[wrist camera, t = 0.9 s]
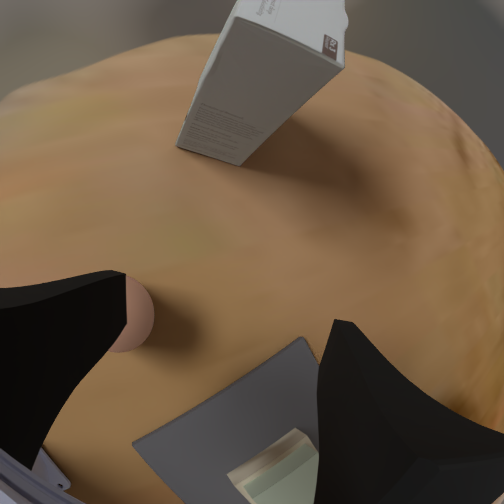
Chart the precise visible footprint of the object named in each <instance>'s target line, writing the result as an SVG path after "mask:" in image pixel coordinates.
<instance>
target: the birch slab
mask: <svg viewBox="0 0 504 504" xmlns="http://www.w3.org/2000/svg"><path fill="white" fill-rule="evenodd" d="M304 443H305V444H307V445H308V446H309V447H311V448H312V449H314V450H315V451H317V450H316V448H315V447H314V445H313V444H312V442H311V441H310V439H309V438H308V436H307V435H306V434H304V433H303V432H301V431H300V430H298V429H297V428H294V429H293V430H291V431H290V432H289V433H287V434H286V435H284V436H283V437H282V438H280V439H279V440H278V441H276V442H275V443H273V444H272V445H270V446H269V447H268V448H266V449H265V450H263V451H262V452H260V453H259V454H257V455H256V456H254V457H253V458H251V459H250V460H248V461H247V462H245V463H244V464H242V465H241V466H239V467H237V468H236V469H234V470H233V471H231V472H229V473H228V474H227V476H228V477H229V479H230V480H231V482H232V483H233V485H234V486H235V487H236V488H237V489H238V491H239V492H240V493H241V494H242V495H243V496H244V497H245V498H246V499H247V500H248V501H249V502H250V503H251V504H257V503H256V502H255V501H254V500H253V499H252V498H251V497H250V495H249V494H248V493H247V491H246V490H245V489H244V487H243V486H244V485H246V484H247V483H249V482H250V481H252V480H254V479H255V478H257V477H258V476H260V475H261V474H263V473H264V472H266V471H267V470H269V469H270V468H272V467H273V466H274V465H276V464H277V463H279V462H280V461H282V460H283V459H284V458H286V457H287V456H288V455H290V454H291V453H293V452H294V451H295V450H297V449H298V448H299V447H301V446H302V445H303V444H304ZM317 452H318V451H317Z"/></svg>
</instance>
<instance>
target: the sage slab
mask: <svg viewBox="0 0 504 504" xmlns="http://www.w3.org/2000/svg"><path fill="white" fill-rule="evenodd" d="M318 463H319V453H318V452H317V451H315V450H314V449H312V448H311V447H309V446H308V445H307V444H305V443H304V444H303V445H302V446H301V447H299V448H298V449H297V450H295V451H294V452H293V453H291V454H290V455H288V456H287V457H286V458H284V459H283V460H282V461H280V462H279V463H277V464H276V465H274V466H273V467H272V468H270V469H269V470H267V471H266V472H264V473H263V474H261V475H260V476H258V477H257V478H255V479H254V480H252V481H250V482H249V483H247V484H246V485H244V486H243V487H244V489H245V490H246V491H247V493H248V494H249V495H250V497H251V498H252V499H253V500H254V501H255V502H256V503H257V504H314V497H315V490H316V482H317V473H318Z"/></svg>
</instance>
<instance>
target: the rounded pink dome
mask: <svg viewBox="0 0 504 504" xmlns="http://www.w3.org/2000/svg"><path fill="white" fill-rule="evenodd" d="M126 303H127V324H126V326H125V328H124V329H123V331H122V332H121V334H120V336H119V337H118V339H117V340H116V341H115V343H114V344H113V345H112V346H111V348H110V349H109V350H108V351H110V352H126V351H130V350H132V349H135V348H136V347H138V346H139V345H141V344H142V343H143V342H144V341H145V340H146V339H147V337H148V336H149V334H150V332H151V330H152V327H153V324H154V315H155V314H154V306H153V302H152V299H151V297H150V295H149V293H148V292H147V290H146V289H145V288H144V287H143V286H142V285H141V284H140V283H139V282H138V281H136V280H135V279H133V278H131V277H129V276H126Z"/></svg>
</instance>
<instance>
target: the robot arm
mask: <svg viewBox="0 0 504 504" xmlns="http://www.w3.org/2000/svg"><path fill="white" fill-rule="evenodd" d="M126 324H127V303H126V274H125V273H121V272H117V271H113V270H106V271H99V272H94V273H89V274H84V275H80V276H75V277H71V278H66V279H62V280H57V281H52V282H47V283H42V284H36V285H30V286H22V287H13V288H0V504H86V503H84V502H82V501H80V500H78V499H76V498H74V497H73V496H71V495H69V494H67V493H65V492H64V490H66V489H69V488H70V486H71V482H70V481H69V480H68V479H67V477H66V476H65V475H64V474H63V473H62V472H61V471H60V469H59V468H58V467H57V466H56V465H55V464H54V462H53V461H52V460H51V459H50V457H49V456H48V455H47V454H46V452H45V451H44V450H43V449H42V447H41V446H42V444H43V442H44V440H45V438H46V436H47V434H48V432H49V430H50V428H51V426H52V424H53V422H54V421H55V419H56V417H57V415H58V414H59V412H60V410H61V409H62V407H63V405H64V404H65V402H66V401H67V399H68V398H69V396H70V395H71V393H72V392H73V390H74V389H75V388H76V386H77V385H78V384H79V382H80V381H81V380H82V379H83V378H84V377H85V376H86V374H87V373H88V372H89V371H90V370H91V369H92V368H93V367H94V366H95V364H96V363H97V362H98V361H99V360H100V359H101V358H102V357H103V356H104V354H105V353H106V352H107V351H108V350H109V349H110V348H111V346H112V345H113V344H114V343H115V341H116V340H117V339H118V337H119V336H120V334H121V332H122V331H123V329H124V328H125V326H126ZM317 413H318V434H319V463H318V473H317V482H316V490H315V497H314V504H492V503H493V502H494V501H495V500H496V499H497V498H498V497H499V496H501V495H502V494H503V493H504V434H503V433H500V432H498V431H495V430H492V429H489V428H487V427H484V426H482V425H479V424H477V423H475V422H473V421H471V420H469V419H467V418H465V417H463V416H461V415H459V414H457V413H455V412H454V411H452V410H450V409H448V408H447V407H445V406H444V405H442V404H441V403H439V402H437V401H436V400H434V399H433V398H431V397H430V396H428V395H427V394H426V393H424V392H423V391H422V390H420V389H419V388H418V387H417V386H415V385H414V384H413V383H412V382H410V381H409V380H408V379H407V378H406V377H405V376H403V375H402V374H401V373H400V372H399V371H398V370H397V369H396V368H395V367H394V366H393V365H392V364H391V363H390V362H389V361H388V360H387V359H386V358H385V357H384V356H383V355H382V354H381V353H380V352H379V351H378V349H377V348H376V347H375V346H374V345H373V344H372V343H371V342H370V341H369V339H368V338H367V337H366V336H365V335H364V334H363V333H362V331H361V330H360V329H359V328H358V327H357V326H356V325H355V324H354V323H353V322H348V321H343V320H337V319H334V322H333V325H332V329H331V332H330V335H329V338H328V341H327V345H326V348H325V351H324V354H323V357H322V360H321V363H320V366H319V369H318V381H317ZM59 484H62V485H63V486H60V485H59Z"/></svg>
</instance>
